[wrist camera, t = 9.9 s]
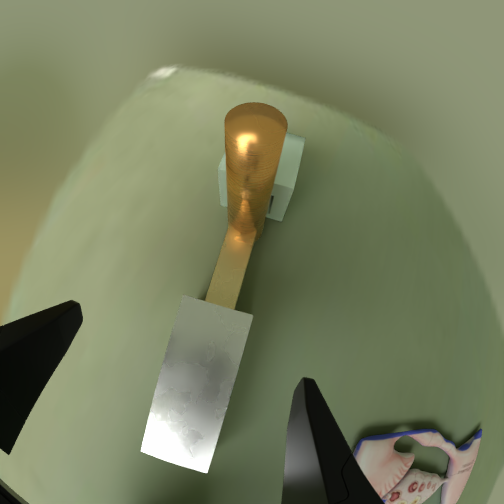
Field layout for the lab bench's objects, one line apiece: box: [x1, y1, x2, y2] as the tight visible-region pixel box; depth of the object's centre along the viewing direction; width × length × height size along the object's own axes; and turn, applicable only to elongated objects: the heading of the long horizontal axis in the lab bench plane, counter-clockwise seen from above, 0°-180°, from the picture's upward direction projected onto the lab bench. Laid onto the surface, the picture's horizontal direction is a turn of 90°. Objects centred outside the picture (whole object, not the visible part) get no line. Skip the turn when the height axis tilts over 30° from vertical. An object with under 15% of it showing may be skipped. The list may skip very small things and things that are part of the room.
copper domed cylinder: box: [205, 102, 288, 310], centre depth 17 cm, size 20×3×13 cm, turn 165°
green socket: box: [218, 133, 305, 222], centre depth 24 cm, size 6×6×6 cm
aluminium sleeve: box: [141, 295, 253, 473], centre depth 19 cm, size 12×5×5 cm, turn 165°
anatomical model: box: [353, 429, 482, 504], centre depth 16 cm, size 20×3×15 cm
